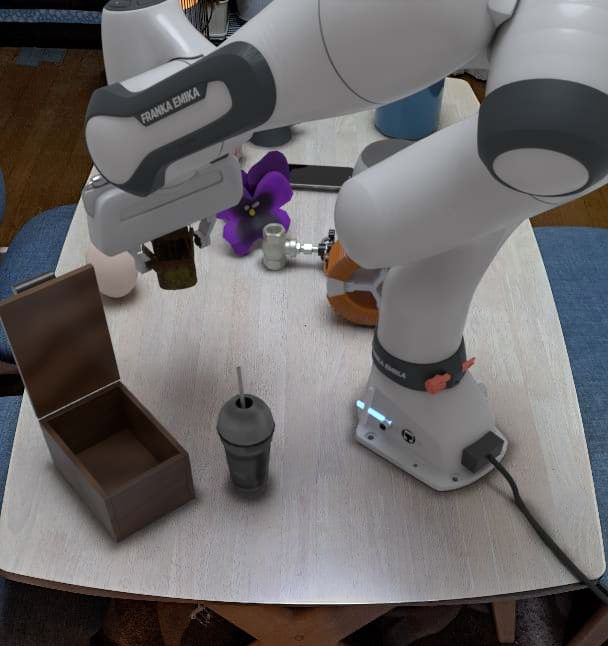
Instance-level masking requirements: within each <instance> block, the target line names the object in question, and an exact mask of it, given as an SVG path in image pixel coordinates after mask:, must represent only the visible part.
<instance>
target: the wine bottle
mask: <svg viewBox="0 0 608 646" xmlns="http://www.w3.org/2000/svg"><path fill="white" fill-rule="evenodd" d="M445 84H446V77H445V78H443V79H442V80H440V81H438V82H436V83H435V84H433V85H431V86H429V87H427V88H425V89H423V90H421V91H419V92H417V93H415V94H413V95H410V96H408V97H405V98H403V99H400V100H398V101H395V102H393V103H390V104H387V105H384V106H381V107H378V108H374V124H375V127H376V128H377V129H378V130H379V131H380V132H381V133H382V134H384V135H385V136H389V137H391V138H393V139H403V140H417V139H423V138H426V137H428V136H430V135H432V134H433V133H434V131H435V130H436V129H437V128H438V126H439V123H440V117H441V111H442V110H441V109H442V103H443V96H444V90H445V89H444V88H445Z"/></svg>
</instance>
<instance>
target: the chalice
mask: <svg viewBox="0 0 608 646" xmlns="http://www.w3.org/2000/svg"><path fill="white" fill-rule="evenodd" d="M414 143H416V142H415V141H411V140H409V139H397V138H387V139H386V138H385V139H384V138H383V139H379V140H376V141H373V142H371V143H369V144H368V145H366V146H365V147H364V148H363V150H361V152H360V153H359V155H358V157H357V159H356V161H355V164H354V167H353V169H354V170H353V174H352V177H354V176H355V175H357V174H359V173H361V172H362V171H364V170H366V169H368V168H370V167H372V166H373V165H375V164H377V163H379V162H381V161H383V160H385V159H387V158H388V157H390V156H392V155H394V154H396V153H397V152H399V151H401V150H403V149H405V148H407V147H408V146H410V145H412V144H414Z"/></svg>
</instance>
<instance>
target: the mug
mask: <svg viewBox="0 0 608 646" xmlns="http://www.w3.org/2000/svg"><path fill="white" fill-rule="evenodd" d="M300 124H301V123H299V124H298V125H300ZM296 125H297V124H294V125H288V126H283V127H278V128H273V129H268V130H263V131H258V132H254V135H253V137H252V138H251V140H250V141H249V142H250V143H252V144H254V145H256V146H259V147H264V148H273V147H274V148H275V147H280V146H284V145H285V144H288V143H289V142H290V141H291V140H292V137H293V131H292V128H291V127H293V126H296Z"/></svg>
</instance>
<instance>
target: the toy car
mask: <svg viewBox="0 0 608 646" xmlns="http://www.w3.org/2000/svg"><path fill="white" fill-rule="evenodd" d="M194 231H195V230H194V227H193V226H191V224H190V225H187V226H185V227H183V228H180V229H178V230H175V231H173V232H171V233H168V234H166V235H163V236H161V237H159V238H156V239H154V240H151V241H150V243H151V247H152V251H153V252H152V251H151V250H150V249H149V248H148V247H147V246H146V245H145V243H144V244H142V245H141V251H142V252H141V253H145V254H146V256H147V257H149V258H150V259H151V263H152V264H151V266H152V271H154V272H155V273H156V277H157V282H158V286H159V288H160V289H162V290H165V291H179V290H186V289H190V288H192V287H194V286H196V285H197V283H198V273H197V267H196V262H195V242H194V236H193V232H194Z"/></svg>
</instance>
